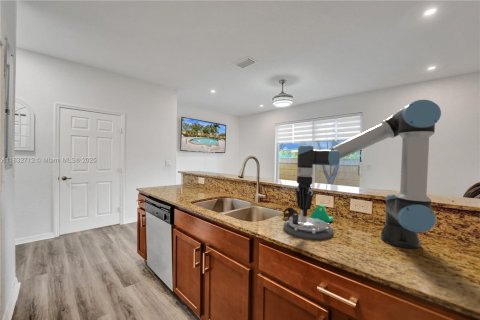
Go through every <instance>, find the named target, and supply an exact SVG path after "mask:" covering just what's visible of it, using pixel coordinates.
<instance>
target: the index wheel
mask: <svg viewBox="0 0 480 320" xmlns="http://www.w3.org/2000/svg"><path fill="white" fill-rule="evenodd" d="M298 216H299V213H298V214H293V217H292V216H290V217H288V218H289V219H288V220H287V221H285V222H286V225H287V226H290V227H291V228H293V229H295V230H296V231H302V232H309V233H312V234H315V233H322V232H329V228H328V227H329V226H330V222H326V221H325V222H324V221H322V220H319V219H315V218H310V217H307V218H306V222H304V223H301V222H300V216H299V217H298Z"/></svg>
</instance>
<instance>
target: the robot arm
mask: <svg viewBox="0 0 480 320" xmlns="http://www.w3.org/2000/svg"><path fill="white" fill-rule="evenodd" d="M441 116H442V110H441V108H440V106H439V105H438V104H437V103H435V101H432V100H430V99H417V100H414V101H411V102H409V103H407V104H406V105H404V107H403V108H401V109H398V110H397V111H396V112H395V113H393V114H392V115H390V116H389V117H388V118H386V119H383V120H382V121H381V122H380V124H378V125H376V126H374V127H372V128H369V129H368V130H365V131H363V132H362V133H359V134H357V135H354V136H353V137H351V138H348V139H346V140H345V141H343V142H340V143H338V144H336V145H334V146H331V147H330V148H328V149H314V146H313V145H300V146H298V148H297V149H298V150H297V164H296V165H297V166H296V167H297V172H296V175H297V176H296V183H297V184H298V185H297V187H295V188H294V191H295V194H296V195H295V196H296V205H297V208H298V207H299V217H300V222H301V223H304V222H306V218H307V216H308V211H309V210H311V207H312V202H313V197H314V194H315V191H313V190H312V188H311V187H312V185H313V175H314V174H313V173H314V172H313V171H314V170H313V169H314V165H316V166H317V165H318V166H331V167H332V166H339V164H340V160H342V159H344V158H346V157H348V156H350V155H353V154H355V153H357V152H359V151H362V150H364V149H367V148H368V147H370V146H373V145H375V144H376V143H379V142H381V141H384V140H386V139H389V138H392V139H394V138H395V137H398V136H399V137H401V138H402V143H401V146H402V147H401V166H400V167H401V168H400V185H399V186H400V188H399V193H398V194H387V195H385V196H386V197H385V223H384V225H383V226H384V227H383V228H382V231H381V233H380V240H382V241H383V242H385V243H386V244H390V245H392V246H395V247H400V248H404V249H420V247H421V241H420V238H419V235H418V233H424V232H428V231H430V230H431V229H433V227H434V226H435V225H436V223H437V222H436V221H437V218H436V214H435V213H434V211H433V210H432V199H431V198H430V197H428V196H427V193H428V170H429V168H428V167H429V149H430V137H431V136H433V135H434V134H435V129H436V124H437V123H438V122H439V120H440V119H441Z"/></svg>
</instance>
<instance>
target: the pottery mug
mask: <svg viewBox="0 0 480 320" xmlns="http://www.w3.org/2000/svg"><path fill="white" fill-rule="evenodd" d="M293 214H298V217H300V215H299V212H298V211H297V210H296V209H295V208H294V207H292V206H289V207H287V208H286V207H285V209H284V210H283V219H285V218H290V217H291V218H293Z"/></svg>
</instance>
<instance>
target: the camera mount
mask: <svg viewBox="0 0 480 320" xmlns="http://www.w3.org/2000/svg"><path fill="white" fill-rule="evenodd" d="M309 216H310V217H309V218H315V219H319V220H322V221H324V222H326V223H330V222H331V221H333V219H334V218H333V216H329V215H328V213H327V210H326V206H324V205H323V204H319V205H318V206H316V208H315V209H314V211H313V212H312V213H311V214H310V215H309Z"/></svg>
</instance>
